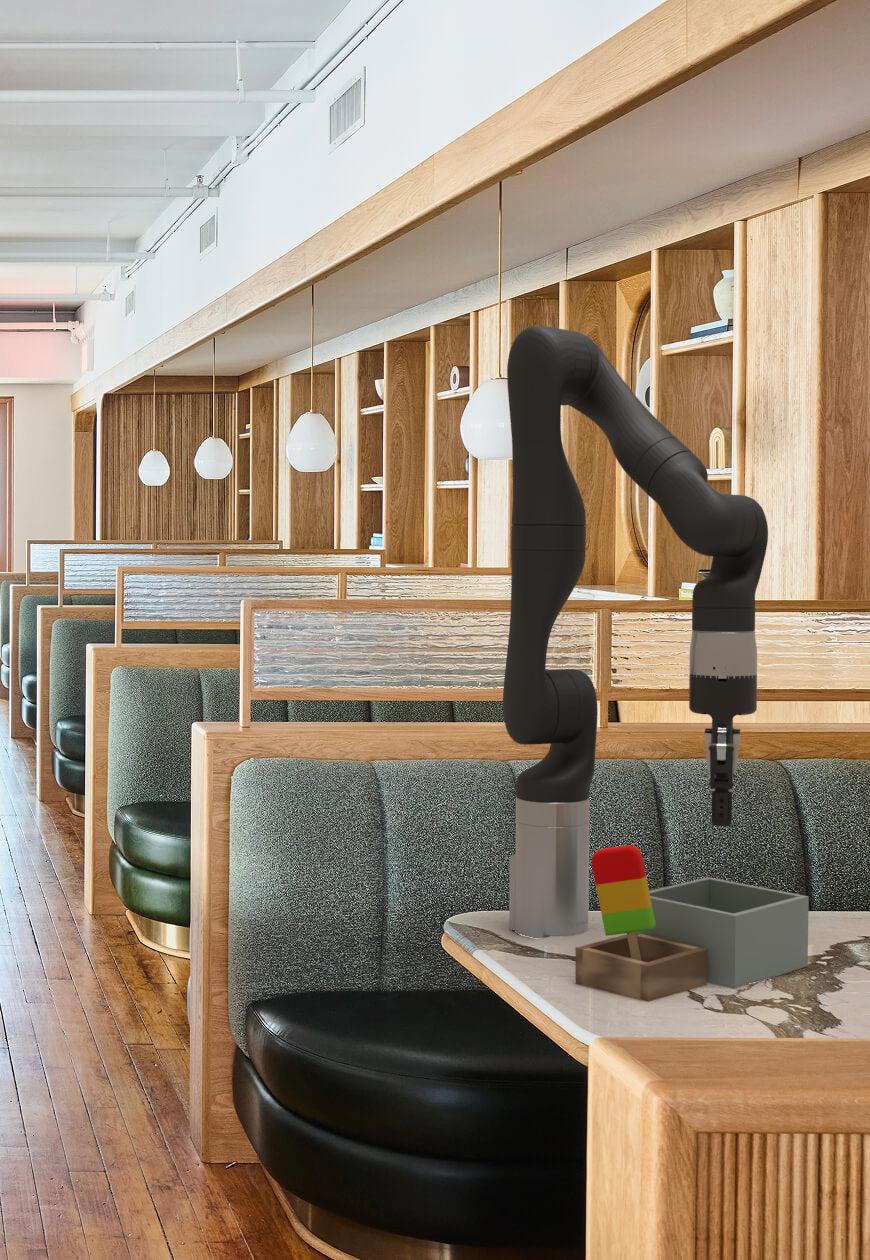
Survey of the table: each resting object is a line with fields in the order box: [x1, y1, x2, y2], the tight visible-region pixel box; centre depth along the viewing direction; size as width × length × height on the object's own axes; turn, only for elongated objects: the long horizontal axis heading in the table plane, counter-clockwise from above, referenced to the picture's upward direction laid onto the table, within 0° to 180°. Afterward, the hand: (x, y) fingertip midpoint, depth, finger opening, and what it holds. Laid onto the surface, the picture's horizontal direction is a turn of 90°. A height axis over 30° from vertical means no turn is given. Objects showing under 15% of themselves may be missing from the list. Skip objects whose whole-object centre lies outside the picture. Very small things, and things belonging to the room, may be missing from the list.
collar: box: [574, 933, 707, 1003], centre depth 161 cm, size 10×10×4 cm
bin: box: [636, 877, 810, 990], centre depth 169 cm, size 14×14×8 cm
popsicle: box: [590, 844, 656, 961], centre depth 161 cm, size 6×15×2 cm
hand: (721, 822), depth 168 cm, fingers closed
